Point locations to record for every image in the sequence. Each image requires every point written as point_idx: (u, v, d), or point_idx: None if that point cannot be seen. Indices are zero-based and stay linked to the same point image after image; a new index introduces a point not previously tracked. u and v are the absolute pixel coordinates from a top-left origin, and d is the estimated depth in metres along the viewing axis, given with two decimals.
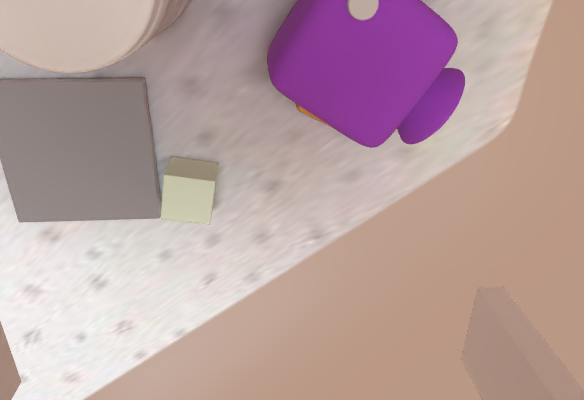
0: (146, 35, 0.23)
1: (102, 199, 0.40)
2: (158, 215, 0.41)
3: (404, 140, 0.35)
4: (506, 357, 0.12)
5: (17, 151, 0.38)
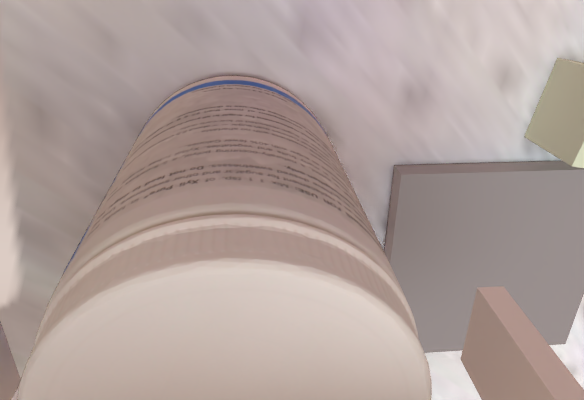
0: (366, 262, 0.10)
1: (566, 246, 0.26)
2: None
3: None
4: (506, 357, 0.12)
5: None
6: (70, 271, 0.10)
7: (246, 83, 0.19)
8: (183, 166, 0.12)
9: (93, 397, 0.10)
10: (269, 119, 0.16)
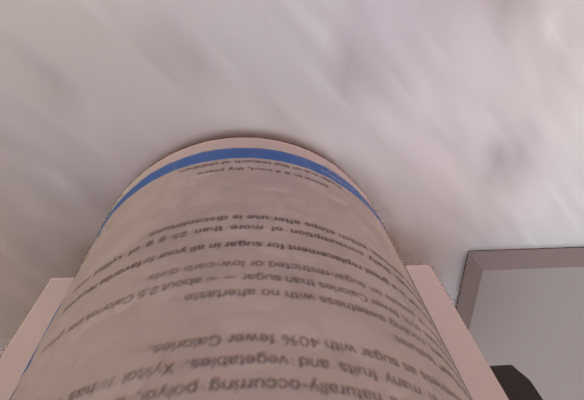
0: None
1: None
2: None
3: None
4: None
5: None
6: None
7: (265, 155, 0.12)
8: None
9: None
10: (310, 249, 0.09)
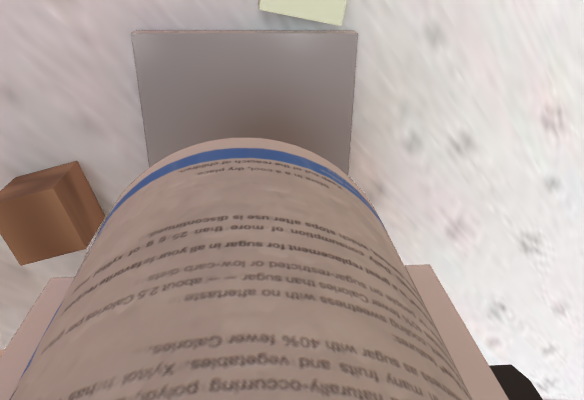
0: None
1: (317, 117, 0.27)
2: (352, 35, 0.25)
3: None
4: None
5: None
6: None
7: (265, 155, 0.12)
8: None
9: None
10: (311, 249, 0.09)
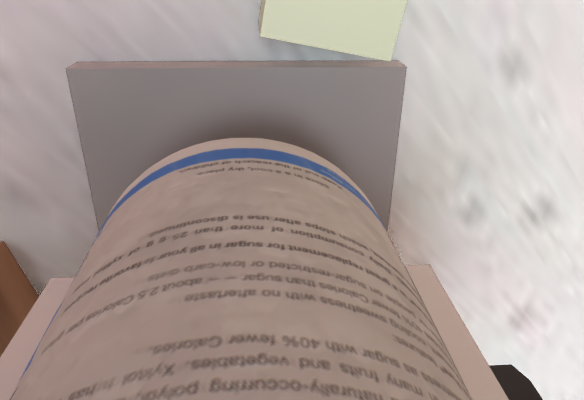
0: None
1: None
2: (398, 69, 0.17)
3: None
4: None
5: None
6: None
7: (265, 155, 0.12)
8: None
9: None
10: (311, 250, 0.09)
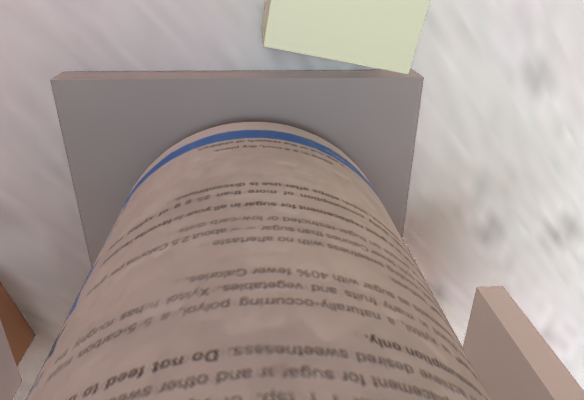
0: None
1: None
2: (415, 80, 0.16)
3: None
4: (506, 357, 0.12)
5: None
6: None
7: (274, 136, 0.14)
8: (180, 342, 0.06)
9: None
10: (318, 209, 0.10)
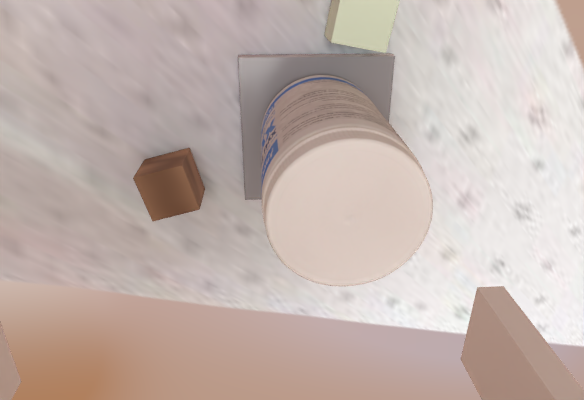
0: (405, 149, 0.25)
1: None
2: (391, 57, 0.36)
3: None
4: (507, 357, 0.12)
5: None
6: (284, 152, 0.25)
7: (332, 79, 0.34)
8: (322, 113, 0.27)
9: (298, 197, 0.25)
10: (352, 96, 0.31)
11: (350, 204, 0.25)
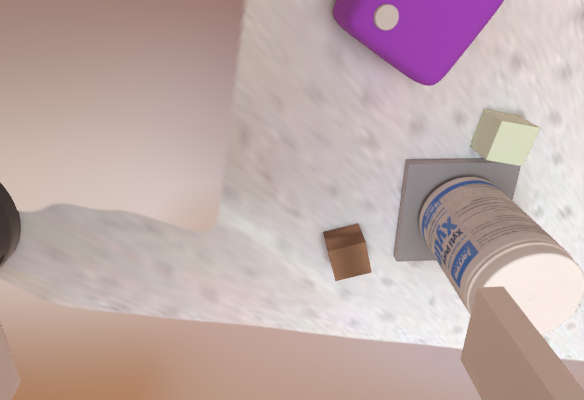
0: (568, 254, 0.38)
1: None
2: None
3: None
4: (507, 357, 0.12)
5: None
6: (487, 256, 0.38)
7: (481, 182, 0.47)
8: (504, 225, 0.40)
9: None
10: (509, 203, 0.44)
11: (532, 291, 0.38)
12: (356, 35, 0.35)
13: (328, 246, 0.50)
